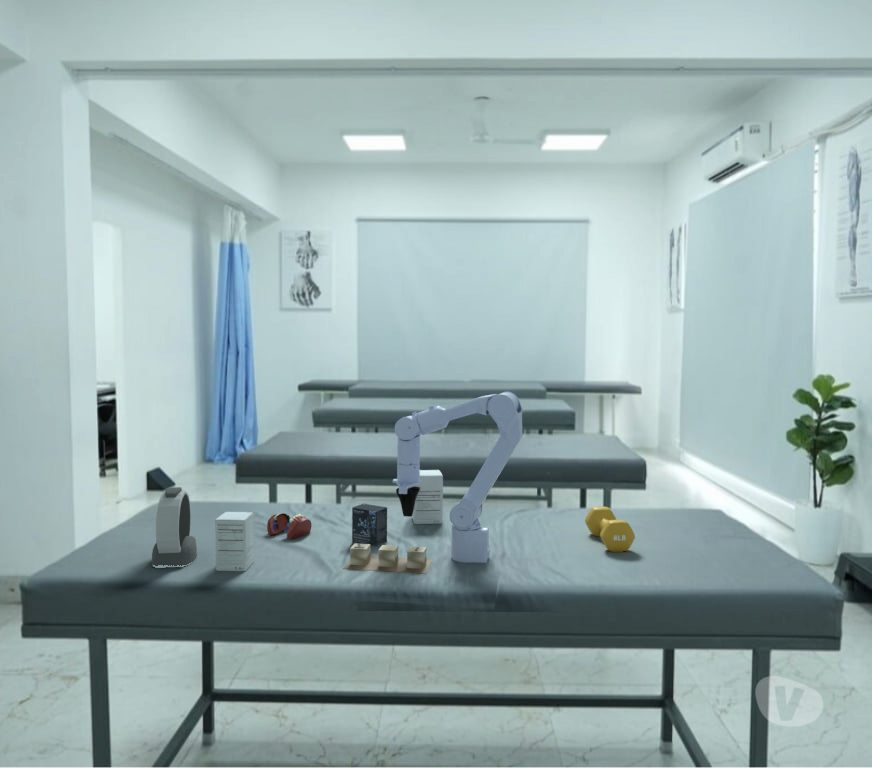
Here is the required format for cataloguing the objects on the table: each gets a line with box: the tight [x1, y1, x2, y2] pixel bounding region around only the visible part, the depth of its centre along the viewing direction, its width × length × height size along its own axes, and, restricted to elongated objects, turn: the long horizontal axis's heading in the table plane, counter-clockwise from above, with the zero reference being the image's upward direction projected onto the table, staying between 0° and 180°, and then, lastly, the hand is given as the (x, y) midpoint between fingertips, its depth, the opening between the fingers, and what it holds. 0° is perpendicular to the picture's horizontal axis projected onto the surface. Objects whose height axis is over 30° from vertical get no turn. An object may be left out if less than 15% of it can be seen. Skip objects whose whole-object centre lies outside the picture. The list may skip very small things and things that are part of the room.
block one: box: [406, 546, 427, 569], centre depth 163 cm, size 4×4×4 cm
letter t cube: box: [349, 543, 371, 565], centre depth 165 cm, size 4×4×4 cm
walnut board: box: [342, 555, 433, 574], centre depth 164 cm, size 20×10×1 cm, turn 81°
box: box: [351, 503, 388, 548], centre depth 182 cm, size 8×6×11 cm
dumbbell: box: [584, 506, 636, 553], centre depth 186 cm, size 19×9×8 cm, turn 3°
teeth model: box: [266, 512, 313, 541], centre depth 192 cm, size 8×6×12 cm
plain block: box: [378, 544, 399, 567], centre depth 164 cm, size 4×4×4 cm
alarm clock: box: [151, 486, 198, 566], centre depth 169 cm, size 16×10×18 cm, turn 9°
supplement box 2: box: [411, 469, 444, 525], centre depth 208 cm, size 9×9×15 cm
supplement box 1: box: [214, 511, 255, 572], centre depth 164 cm, size 7×7×13 cm
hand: (407, 515), depth 173 cm, fingers closed
